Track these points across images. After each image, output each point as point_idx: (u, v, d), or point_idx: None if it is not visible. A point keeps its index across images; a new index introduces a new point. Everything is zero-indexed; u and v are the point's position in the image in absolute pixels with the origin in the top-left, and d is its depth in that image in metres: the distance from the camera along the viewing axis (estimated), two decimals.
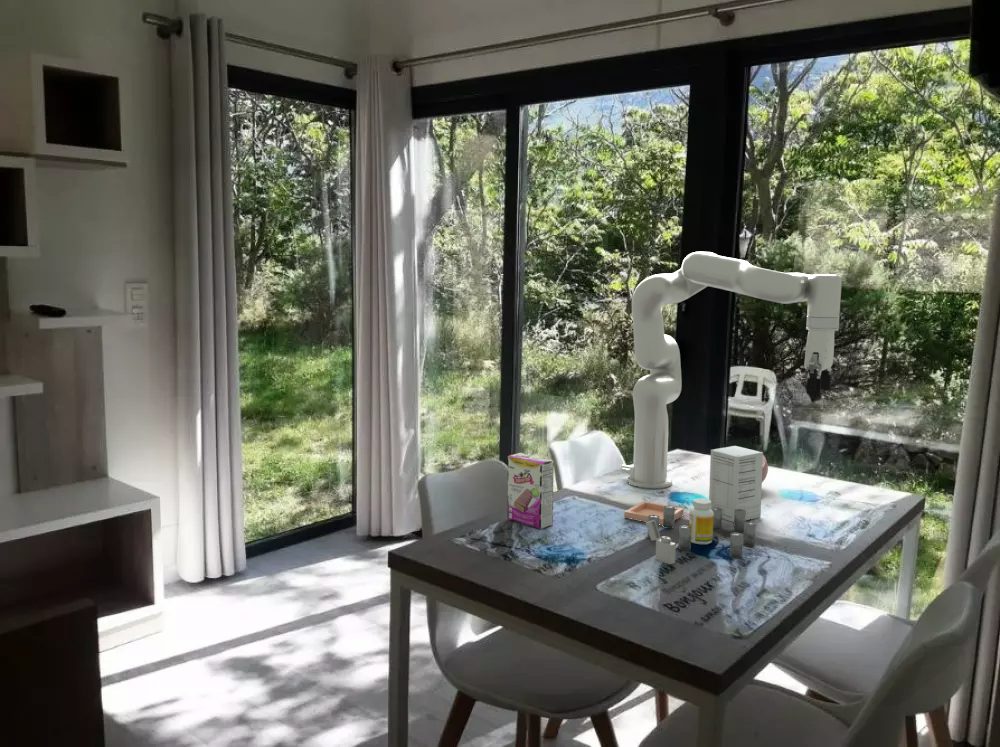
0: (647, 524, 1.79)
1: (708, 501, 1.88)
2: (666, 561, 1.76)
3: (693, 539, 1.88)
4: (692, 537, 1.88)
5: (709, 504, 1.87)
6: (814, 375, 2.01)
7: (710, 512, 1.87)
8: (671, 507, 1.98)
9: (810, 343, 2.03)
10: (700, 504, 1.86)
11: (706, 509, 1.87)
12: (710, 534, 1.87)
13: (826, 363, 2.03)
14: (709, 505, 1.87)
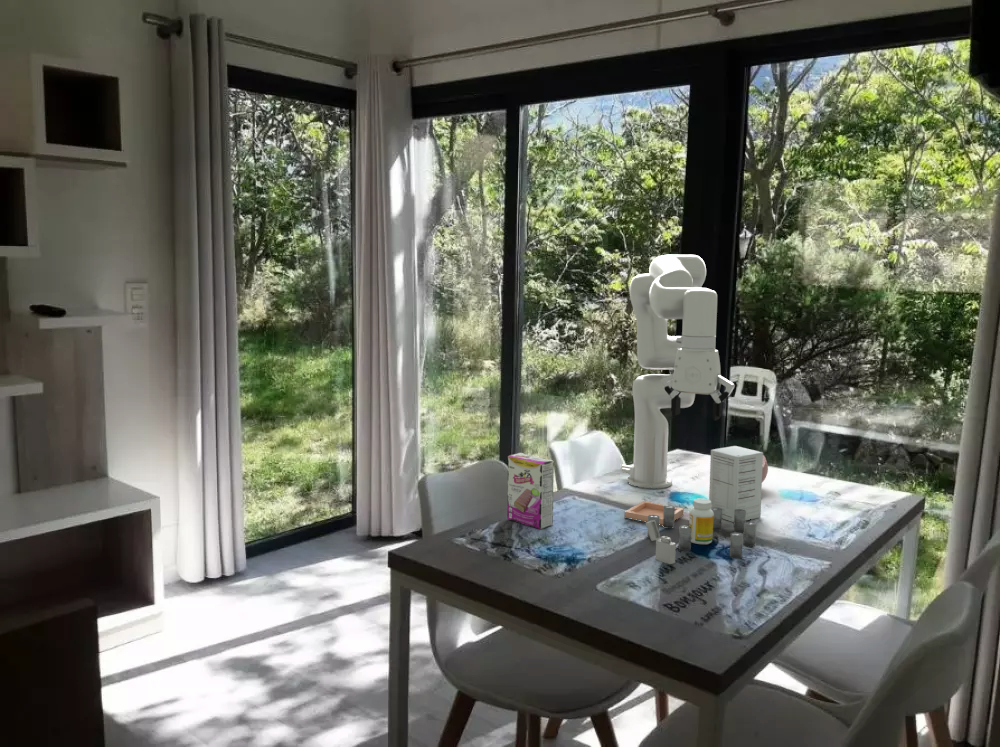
0: (647, 524, 1.79)
1: (708, 501, 1.88)
2: (666, 561, 1.76)
3: (693, 539, 1.88)
4: (692, 537, 1.88)
5: (709, 504, 1.87)
6: None
7: (710, 512, 1.87)
8: (671, 507, 1.98)
9: (716, 366, 1.85)
10: (700, 504, 1.86)
11: (706, 509, 1.87)
12: (710, 534, 1.87)
13: None
14: (709, 505, 1.87)
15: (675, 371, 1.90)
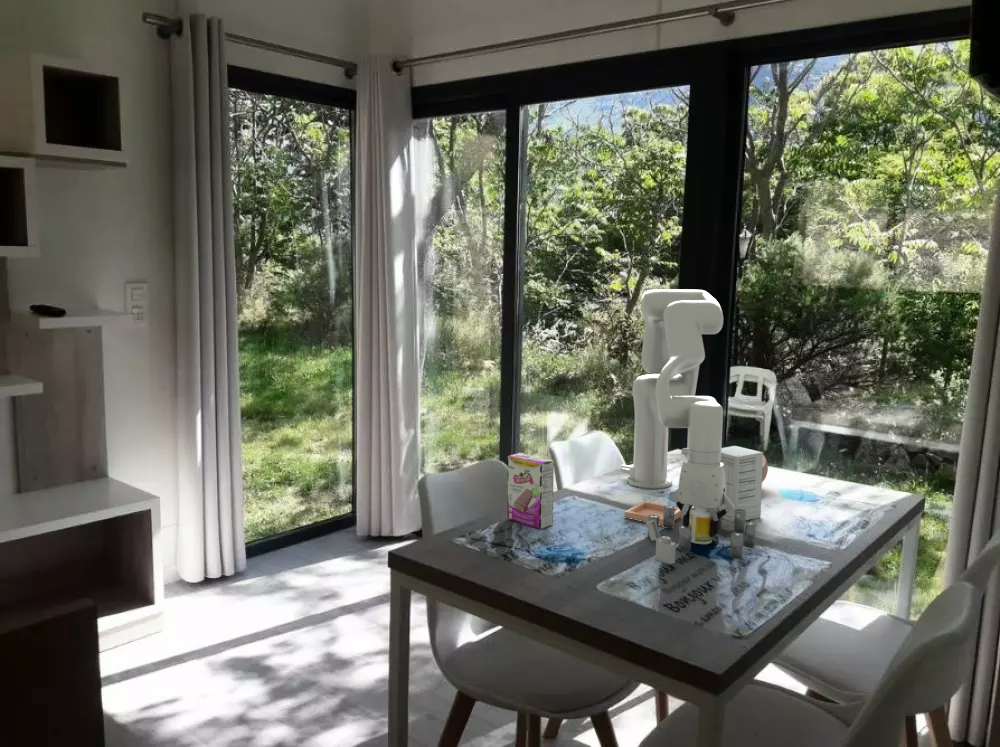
0: (647, 524, 1.79)
1: None
2: (666, 561, 1.76)
3: (693, 539, 1.88)
4: (692, 537, 1.88)
5: None
6: None
7: (710, 512, 1.87)
8: (671, 507, 1.98)
9: (721, 481, 1.83)
10: None
11: (706, 509, 1.87)
12: None
13: None
14: None
15: (680, 483, 1.88)
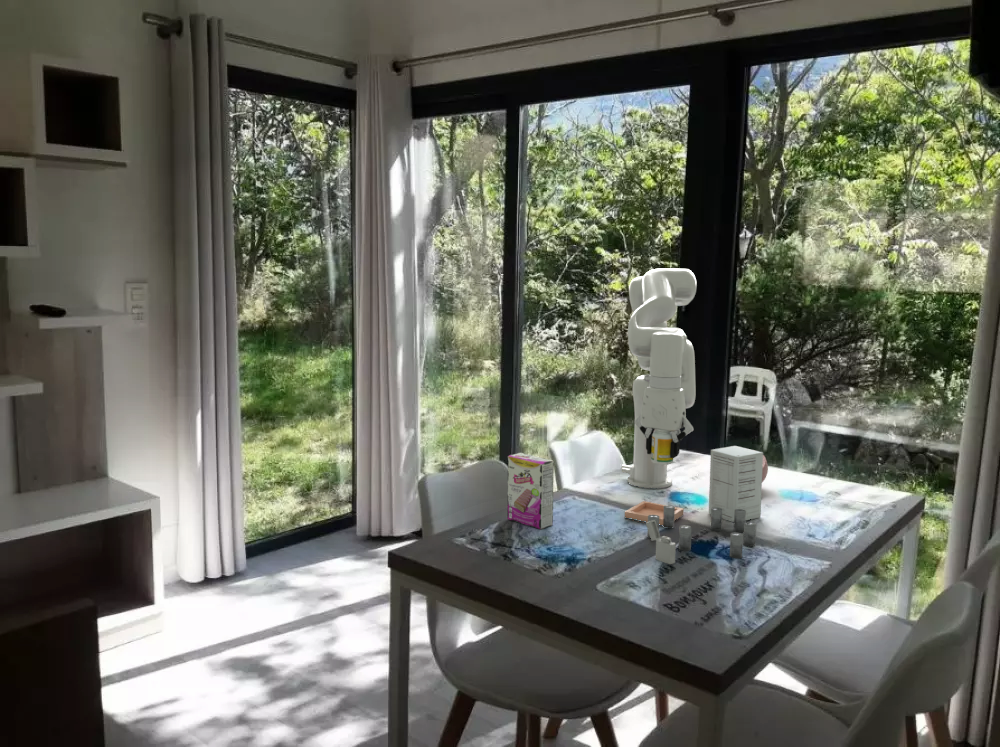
0: (647, 524, 1.79)
1: None
2: (666, 561, 1.76)
3: (655, 460, 2.01)
4: (654, 458, 2.01)
5: None
6: (683, 437, 1.99)
7: (671, 434, 2.00)
8: (671, 507, 1.98)
9: (681, 404, 1.96)
10: None
11: (667, 431, 2.00)
12: None
13: None
14: None
15: (643, 408, 2.01)
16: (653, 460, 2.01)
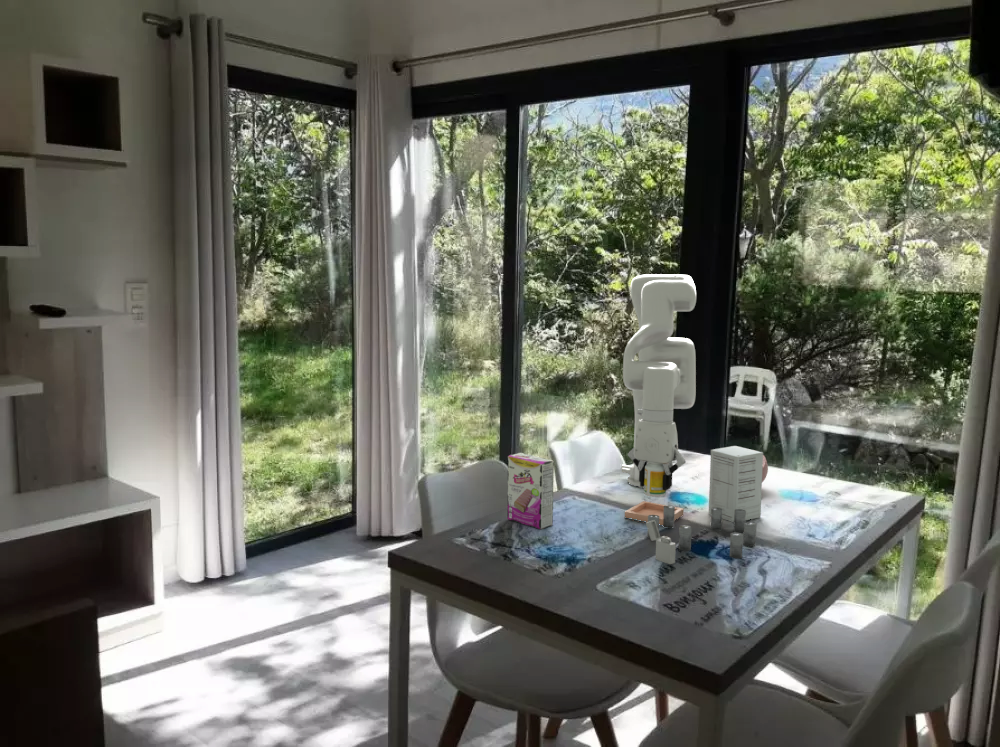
0: (647, 524, 1.79)
1: None
2: (666, 561, 1.76)
3: (647, 492, 2.04)
4: (647, 490, 2.04)
5: None
6: (675, 470, 2.02)
7: (663, 467, 2.03)
8: (671, 507, 1.98)
9: (673, 437, 2.00)
10: None
11: (659, 464, 2.03)
12: None
13: None
14: None
15: (636, 441, 2.04)
16: (646, 492, 2.04)
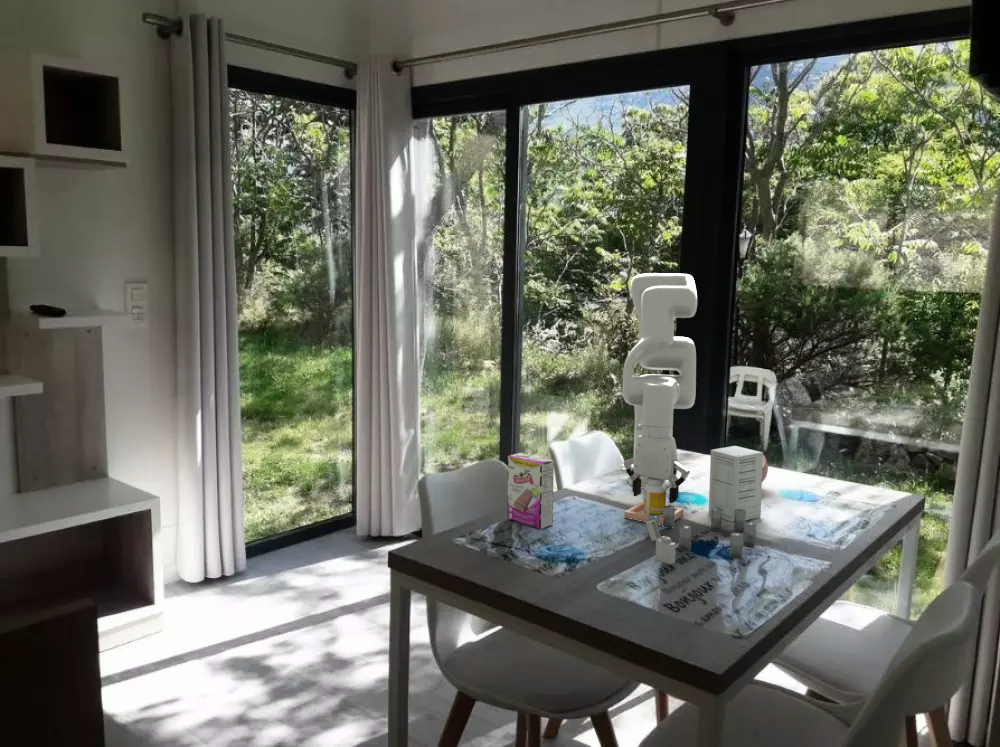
0: (647, 524, 1.79)
1: None
2: (666, 561, 1.76)
3: (647, 513, 2.05)
4: (646, 511, 2.05)
5: (661, 480, 2.04)
6: (681, 483, 2.02)
7: (662, 488, 2.04)
8: (671, 507, 1.98)
9: (672, 453, 2.00)
10: (653, 480, 2.04)
11: (658, 485, 2.04)
12: (663, 508, 2.04)
13: None
14: (661, 481, 2.04)
15: (635, 456, 2.05)
16: (645, 513, 2.06)
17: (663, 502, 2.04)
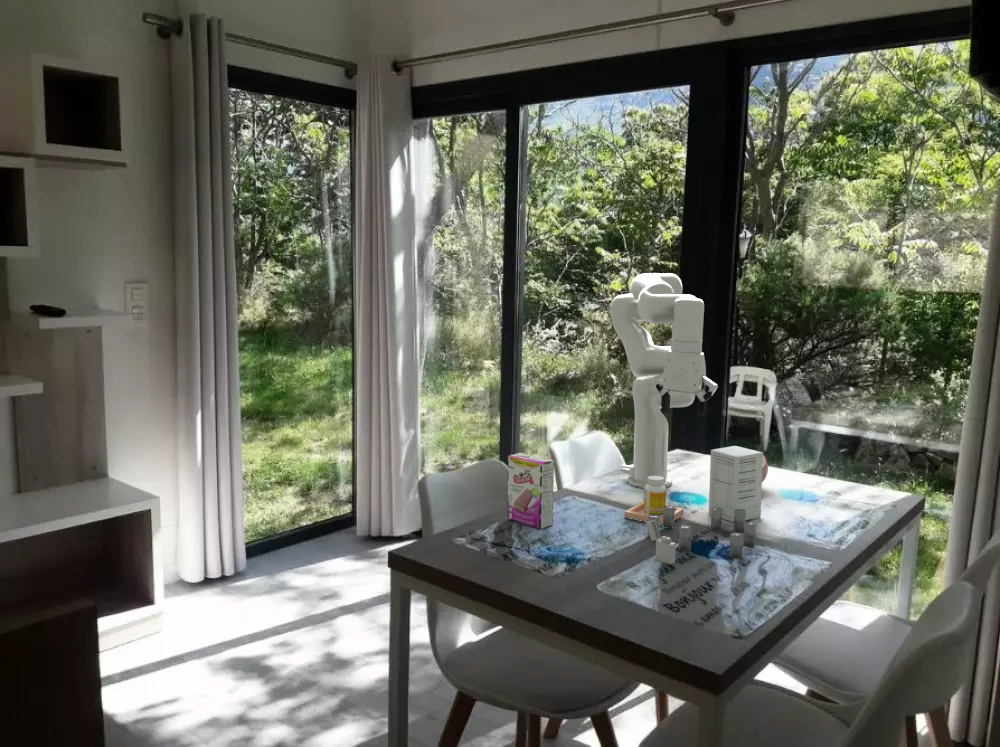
0: (647, 524, 1.79)
1: (661, 478, 2.05)
2: (666, 561, 1.76)
3: (647, 513, 2.05)
4: (646, 511, 2.05)
5: (661, 480, 2.04)
6: (709, 397, 2.06)
7: (662, 488, 2.04)
8: (671, 507, 1.98)
9: (701, 368, 2.05)
10: (653, 480, 2.04)
11: (659, 485, 2.04)
12: (663, 508, 2.04)
13: None
14: (661, 481, 2.04)
15: (665, 371, 2.10)
16: (645, 513, 2.06)
17: (663, 502, 2.04)
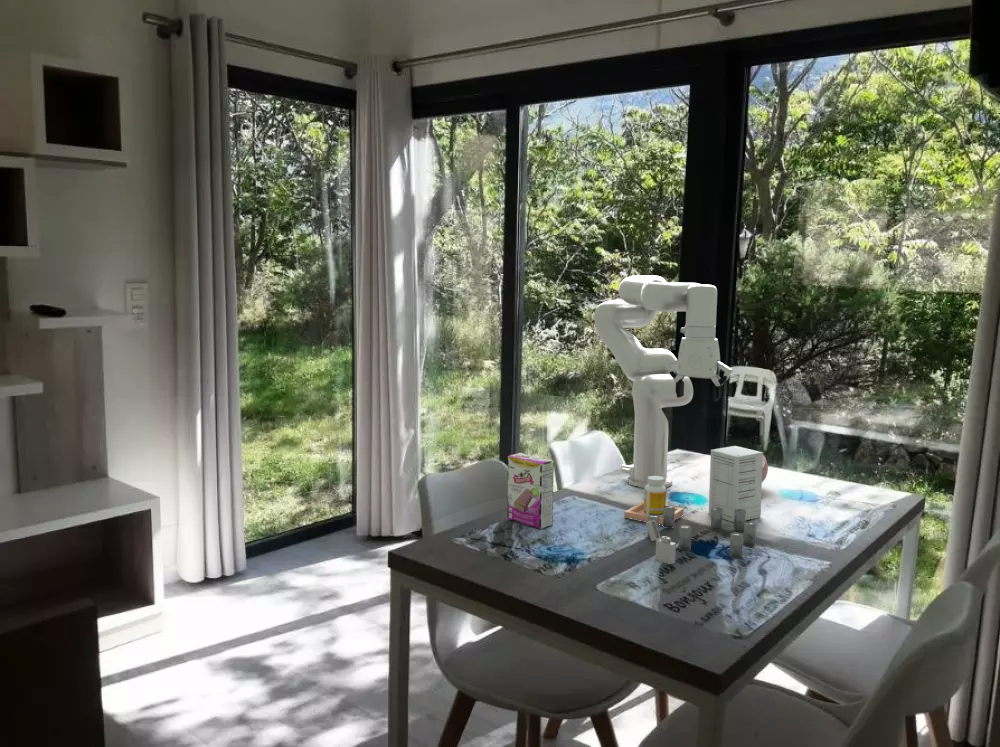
0: (647, 524, 1.79)
1: (661, 478, 2.05)
2: (666, 561, 1.76)
3: (647, 513, 2.05)
4: (646, 511, 2.05)
5: (661, 481, 2.04)
6: (724, 381, 2.09)
7: (662, 488, 2.04)
8: (671, 507, 1.98)
9: (715, 353, 2.08)
10: (653, 480, 2.04)
11: (659, 485, 2.04)
12: (662, 508, 2.04)
13: None
14: (661, 481, 2.04)
15: (679, 357, 2.12)
16: (645, 513, 2.06)
17: (663, 502, 2.04)
